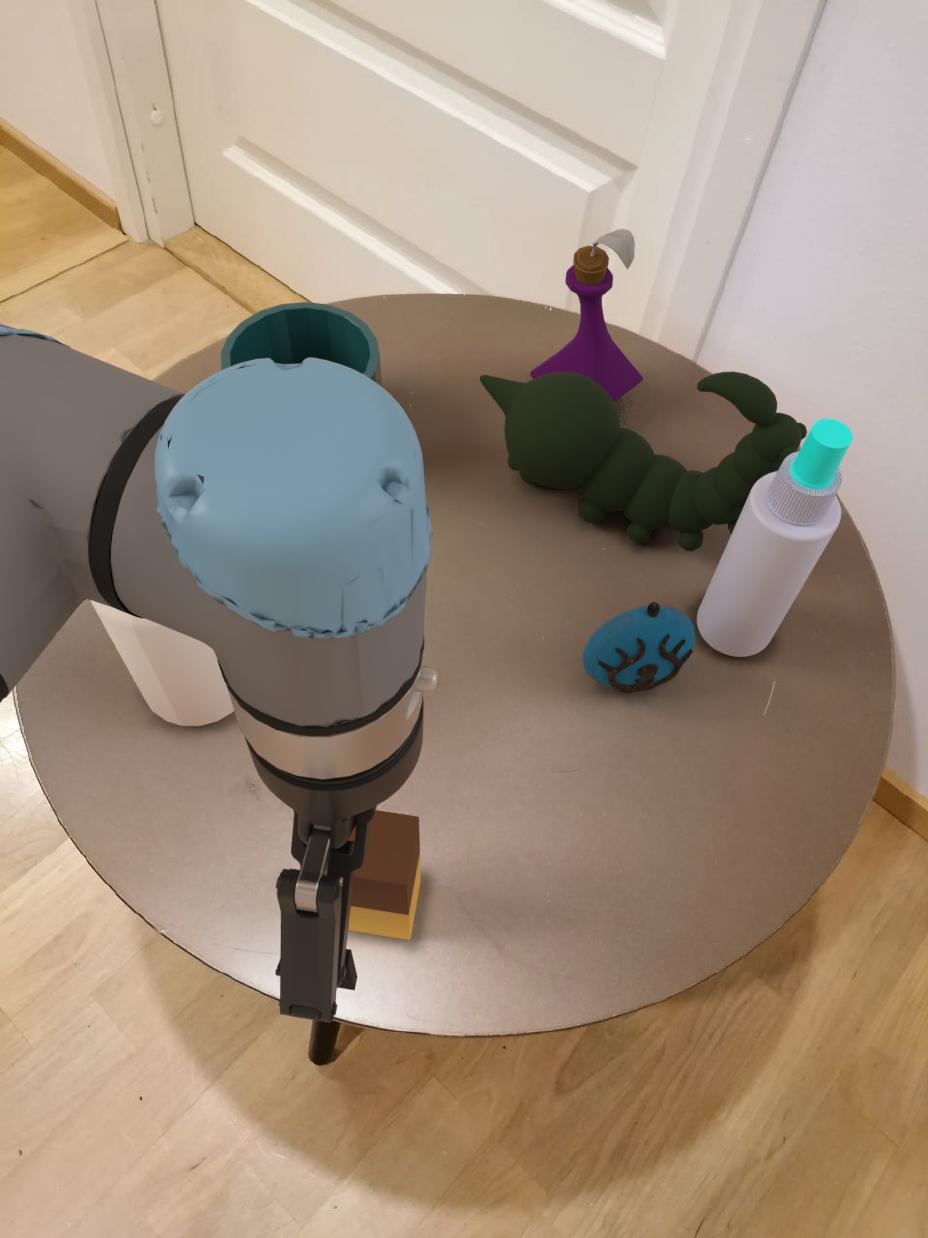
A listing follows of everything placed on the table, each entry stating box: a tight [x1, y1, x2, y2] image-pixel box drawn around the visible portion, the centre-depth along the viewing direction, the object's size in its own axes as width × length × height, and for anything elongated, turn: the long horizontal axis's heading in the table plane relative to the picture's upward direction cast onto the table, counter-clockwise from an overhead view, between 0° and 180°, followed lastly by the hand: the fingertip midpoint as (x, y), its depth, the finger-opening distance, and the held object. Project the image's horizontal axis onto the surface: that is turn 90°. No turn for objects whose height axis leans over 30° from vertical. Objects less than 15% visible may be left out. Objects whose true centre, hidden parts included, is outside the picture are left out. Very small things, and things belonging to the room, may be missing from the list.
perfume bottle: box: [529, 228, 644, 403], centre depth 80 cm, size 8×8×18 cm
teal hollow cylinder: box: [220, 301, 383, 388], centre depth 81 cm, size 13×13×9 cm
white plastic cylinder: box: [89, 600, 235, 727], centre depth 63 cm, size 8×8×18 cm
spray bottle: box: [696, 418, 854, 658], centre depth 66 cm, size 6×6×22 cm
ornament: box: [582, 601, 696, 694], centre depth 68 cm, size 8×5×10 cm, turn 100°
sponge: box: [348, 809, 422, 941], centre depth 57 cm, size 4×5×12 cm
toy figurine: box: [479, 371, 808, 553], centre depth 74 cm, size 9×19×25 cm
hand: (357, 862), depth 56 cm, fingers open, 13 cm apart
